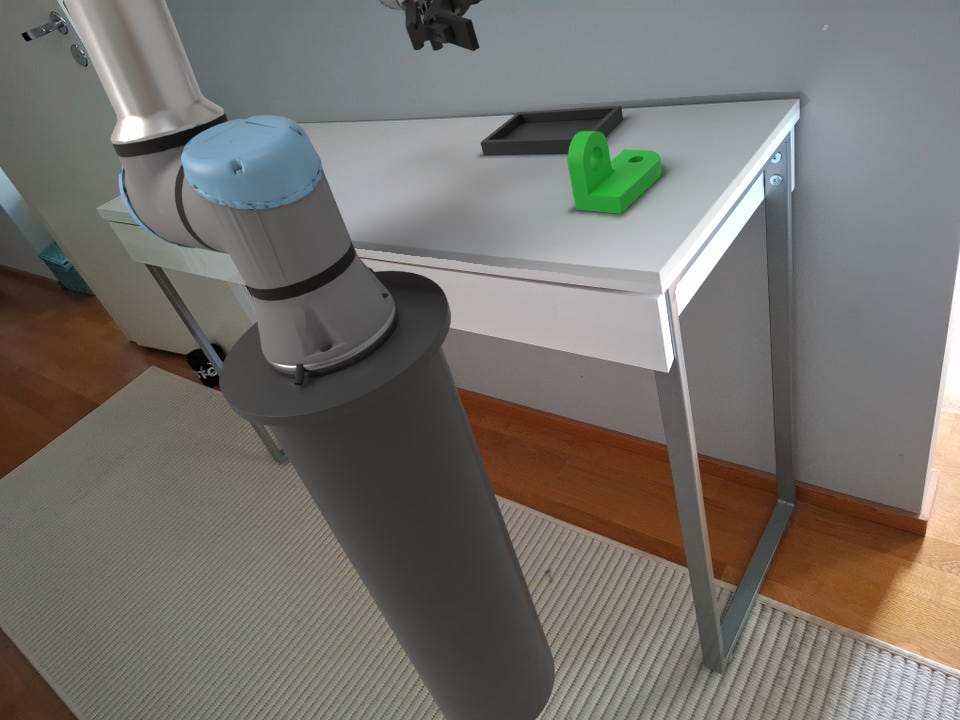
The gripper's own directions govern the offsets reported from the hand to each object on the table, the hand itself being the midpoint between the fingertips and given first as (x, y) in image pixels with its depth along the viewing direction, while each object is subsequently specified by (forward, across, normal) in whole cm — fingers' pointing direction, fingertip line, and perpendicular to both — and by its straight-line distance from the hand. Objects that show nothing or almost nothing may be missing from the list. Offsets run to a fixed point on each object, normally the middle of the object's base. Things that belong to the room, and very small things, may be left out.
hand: (529, 5), depth 66 cm
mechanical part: (+4, -5, -23) cm, 23 cm away
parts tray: (-20, -10, -25) cm, 33 cm away
